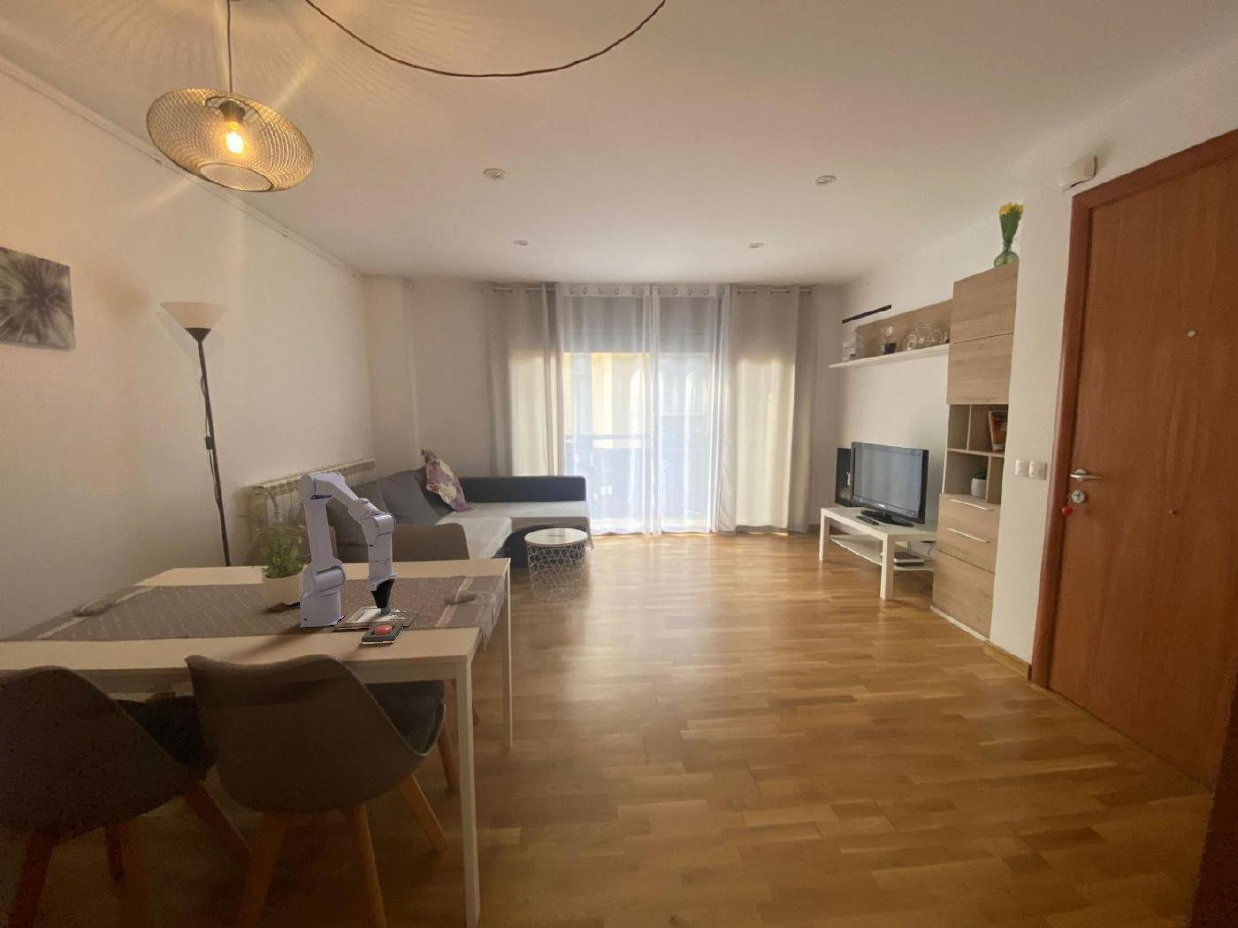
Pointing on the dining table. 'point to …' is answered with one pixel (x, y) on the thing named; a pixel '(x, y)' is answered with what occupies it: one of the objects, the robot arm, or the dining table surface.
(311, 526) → the robot arm
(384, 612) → the gray capped cylinder
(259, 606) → the dining table surface
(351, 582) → the dining table surface
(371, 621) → the drawing board
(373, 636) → the button housing
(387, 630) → the button
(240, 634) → the dining table surface
